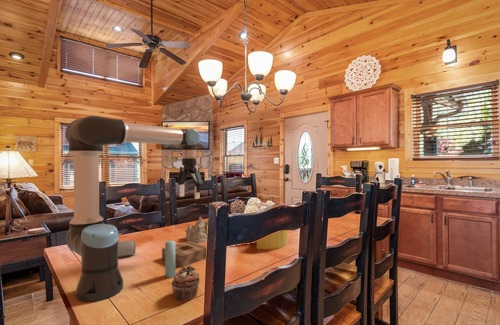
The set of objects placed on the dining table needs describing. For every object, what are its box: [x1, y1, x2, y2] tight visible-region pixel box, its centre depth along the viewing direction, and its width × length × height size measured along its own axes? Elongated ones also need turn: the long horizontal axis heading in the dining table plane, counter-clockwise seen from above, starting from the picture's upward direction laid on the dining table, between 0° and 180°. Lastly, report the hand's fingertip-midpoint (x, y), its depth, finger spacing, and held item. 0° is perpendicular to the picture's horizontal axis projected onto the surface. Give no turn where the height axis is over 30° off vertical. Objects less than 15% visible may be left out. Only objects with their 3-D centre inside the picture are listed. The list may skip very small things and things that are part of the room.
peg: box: [164, 240, 176, 279], centre depth 110 cm, size 4×4×14 cm
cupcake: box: [170, 264, 200, 302], centre depth 94 cm, size 10×10×10 cm
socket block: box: [161, 241, 207, 268], centre depth 130 cm, size 16×16×5 cm
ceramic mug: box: [118, 240, 137, 258], centre depth 135 cm, size 11×8×8 cm
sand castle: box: [184, 216, 209, 244], centre depth 163 cm, size 16×16×15 cm
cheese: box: [253, 230, 289, 250], centre depth 156 cm, size 26×26×15 cm
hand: (189, 197), depth 143 cm, fingers open, 13 cm apart
